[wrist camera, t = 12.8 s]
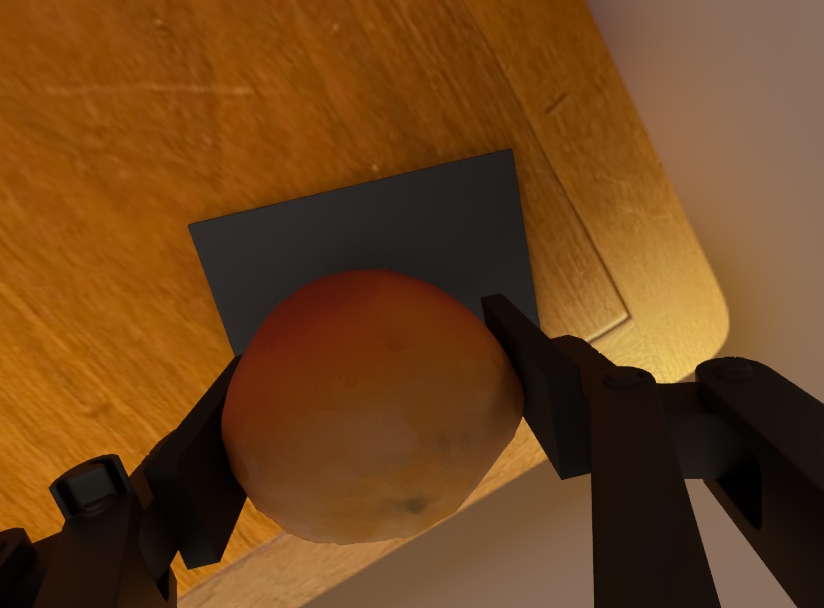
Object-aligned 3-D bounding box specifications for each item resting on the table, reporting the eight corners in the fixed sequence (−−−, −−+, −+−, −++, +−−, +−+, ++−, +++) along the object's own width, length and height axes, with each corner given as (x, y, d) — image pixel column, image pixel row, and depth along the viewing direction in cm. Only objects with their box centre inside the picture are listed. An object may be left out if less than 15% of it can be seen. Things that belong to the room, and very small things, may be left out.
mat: (509, 148, 22) (512, 147, 22) (544, 368, 26) (547, 372, 25) (190, 223, 22) (186, 224, 22) (266, 434, 26) (264, 439, 25)
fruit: (394, 150, 13) (524, 351, 8) (471, 306, 19) (578, 487, 13) (162, 284, 14) (130, 559, 8) (305, 397, 20) (342, 604, 14)
